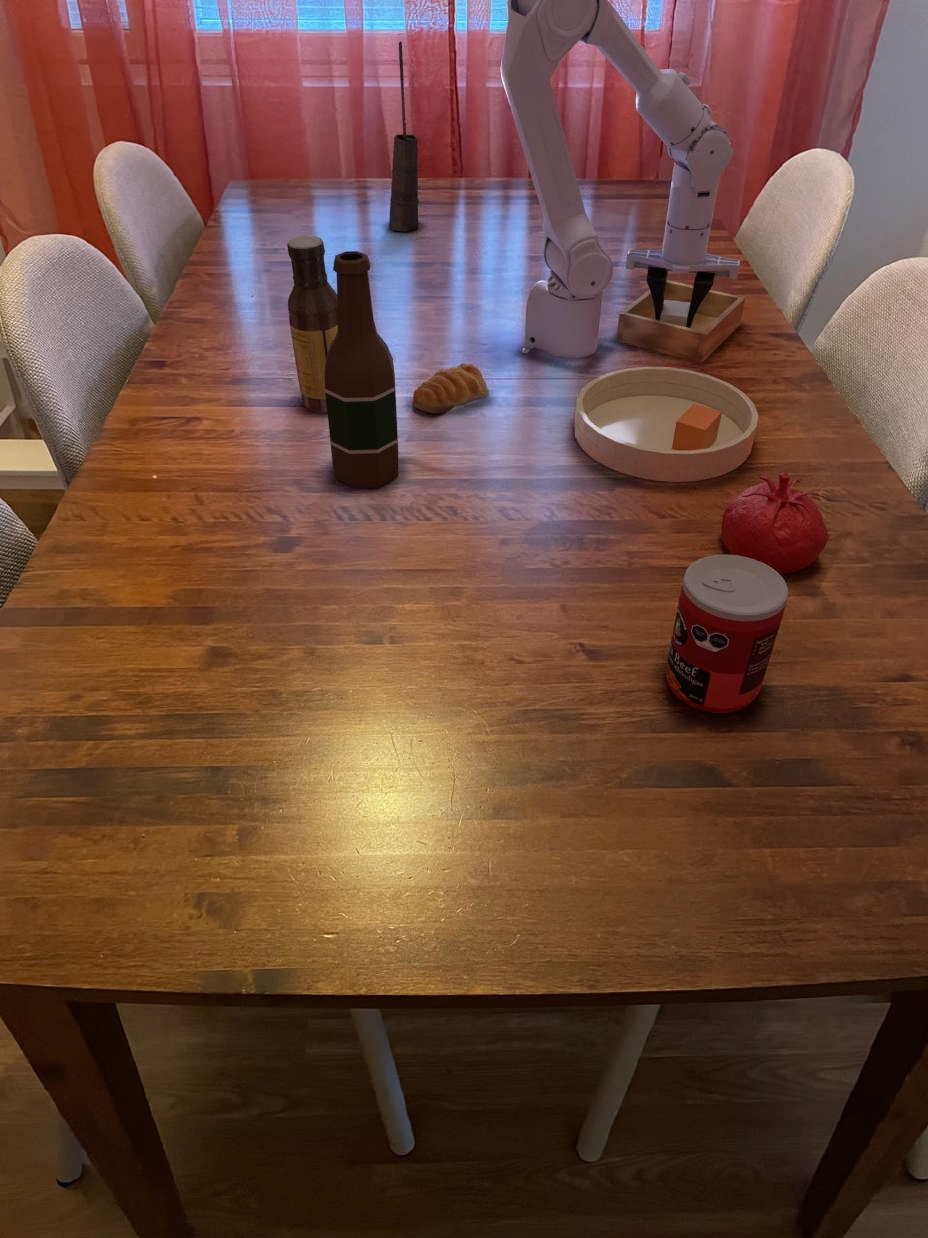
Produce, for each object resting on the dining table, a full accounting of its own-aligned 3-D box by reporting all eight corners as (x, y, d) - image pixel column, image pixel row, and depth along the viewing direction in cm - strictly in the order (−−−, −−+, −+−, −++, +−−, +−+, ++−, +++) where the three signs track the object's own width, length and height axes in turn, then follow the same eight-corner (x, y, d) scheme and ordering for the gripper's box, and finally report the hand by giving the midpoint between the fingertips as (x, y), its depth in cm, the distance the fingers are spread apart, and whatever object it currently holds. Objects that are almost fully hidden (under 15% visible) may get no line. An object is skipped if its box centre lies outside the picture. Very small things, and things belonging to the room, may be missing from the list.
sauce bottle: (344, 387, 121) (330, 227, 108) (357, 409, 117) (344, 246, 104) (294, 395, 119) (274, 234, 106) (306, 418, 115) (286, 253, 102)
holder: (615, 341, 131) (619, 312, 129) (658, 305, 141) (662, 278, 138) (701, 363, 126) (706, 334, 124) (740, 325, 136) (745, 297, 133)
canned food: (654, 655, 83) (673, 555, 76) (743, 650, 84) (770, 550, 77) (676, 719, 77) (699, 617, 70) (771, 713, 78) (803, 612, 71)
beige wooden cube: (657, 338, 129) (661, 313, 127) (661, 323, 133) (664, 299, 131) (683, 341, 129) (687, 316, 126) (686, 326, 132) (690, 302, 130)
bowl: (542, 454, 109) (544, 419, 106) (619, 385, 122) (623, 352, 119) (710, 509, 100) (718, 473, 97) (774, 428, 113) (782, 394, 110)
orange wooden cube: (671, 448, 108) (676, 421, 106) (688, 430, 111) (693, 403, 109) (700, 457, 106) (705, 429, 104) (716, 438, 110) (722, 411, 107)
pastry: (433, 423, 114) (432, 394, 112) (400, 403, 118) (399, 374, 116) (492, 400, 118) (493, 372, 116) (459, 381, 122) (459, 353, 120)
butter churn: (432, 238, 162) (429, 50, 144) (377, 238, 162) (366, 50, 144) (434, 220, 169) (431, 39, 151) (381, 220, 169) (372, 38, 151)
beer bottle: (412, 460, 108) (404, 246, 92) (385, 496, 102) (372, 275, 86) (349, 448, 110) (331, 237, 94) (320, 483, 104) (295, 264, 88)
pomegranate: (762, 599, 89) (784, 518, 83) (695, 543, 96) (712, 464, 90) (841, 570, 93) (867, 489, 86) (771, 517, 99) (792, 439, 93)
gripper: (627, 227, 120) (616, 330, 129) (745, 238, 117) (725, 342, 126) (634, 209, 125) (623, 309, 134) (747, 219, 122) (728, 320, 131)
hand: (673, 324), depth 130 cm, fingers closed on beige wooden cube, 3 cm apart
